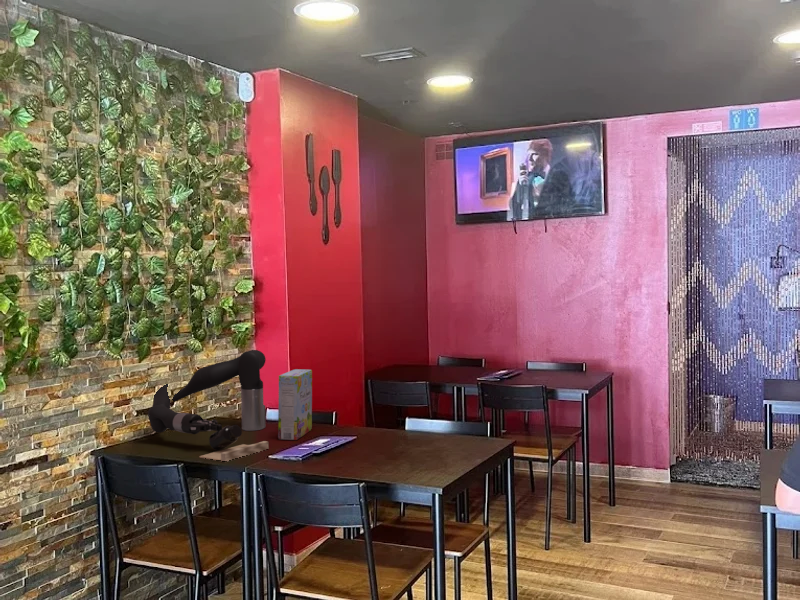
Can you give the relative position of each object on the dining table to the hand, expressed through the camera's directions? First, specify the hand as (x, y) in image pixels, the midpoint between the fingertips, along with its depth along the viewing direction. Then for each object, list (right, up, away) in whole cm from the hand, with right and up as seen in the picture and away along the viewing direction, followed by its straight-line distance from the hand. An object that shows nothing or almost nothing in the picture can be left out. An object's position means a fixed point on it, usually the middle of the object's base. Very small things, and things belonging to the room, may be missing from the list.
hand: (220, 428), depth 288 cm
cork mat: (+5, -9, -3) cm, 11 cm away
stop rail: (+11, -9, -7) cm, 15 cm away
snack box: (+25, -8, +27) cm, 37 cm away
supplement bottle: (-2, -6, +2) cm, 6 cm away
